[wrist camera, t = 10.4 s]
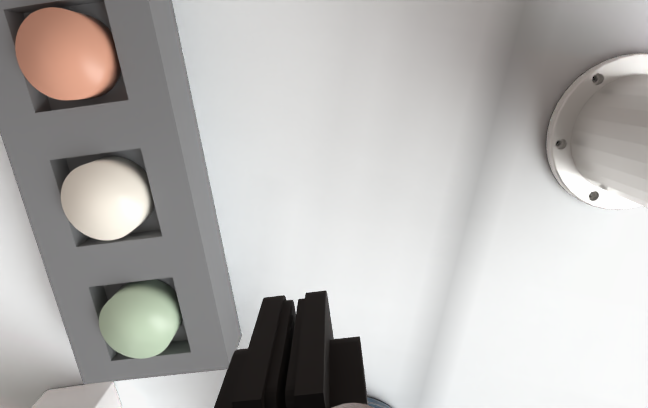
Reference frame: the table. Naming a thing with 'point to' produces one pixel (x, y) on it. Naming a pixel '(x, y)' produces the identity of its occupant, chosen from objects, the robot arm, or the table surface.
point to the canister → (376, 403)
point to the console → (164, 178)
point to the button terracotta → (67, 54)
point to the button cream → (107, 198)
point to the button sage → (141, 318)
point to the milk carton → (81, 397)
